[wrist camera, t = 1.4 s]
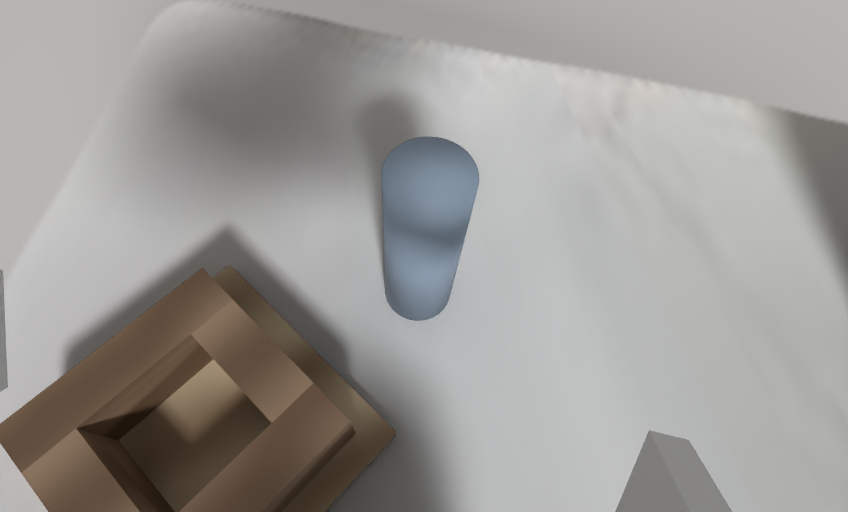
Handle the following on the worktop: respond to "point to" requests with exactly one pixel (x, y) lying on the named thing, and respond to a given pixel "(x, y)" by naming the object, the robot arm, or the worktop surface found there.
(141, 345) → the socket block
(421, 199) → the dowel
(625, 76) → the worktop surface
